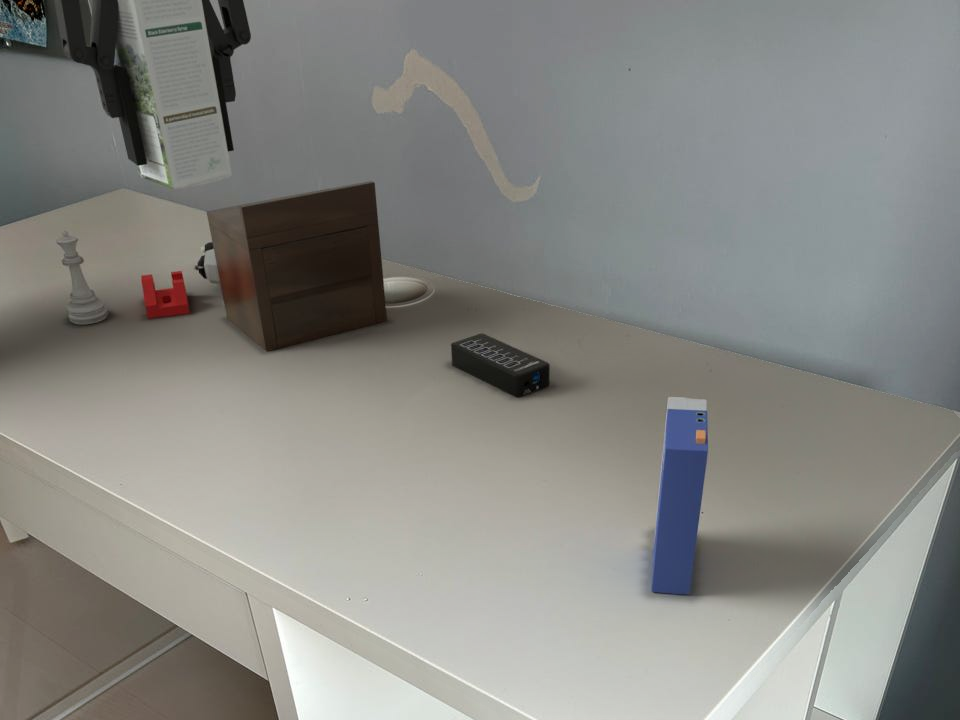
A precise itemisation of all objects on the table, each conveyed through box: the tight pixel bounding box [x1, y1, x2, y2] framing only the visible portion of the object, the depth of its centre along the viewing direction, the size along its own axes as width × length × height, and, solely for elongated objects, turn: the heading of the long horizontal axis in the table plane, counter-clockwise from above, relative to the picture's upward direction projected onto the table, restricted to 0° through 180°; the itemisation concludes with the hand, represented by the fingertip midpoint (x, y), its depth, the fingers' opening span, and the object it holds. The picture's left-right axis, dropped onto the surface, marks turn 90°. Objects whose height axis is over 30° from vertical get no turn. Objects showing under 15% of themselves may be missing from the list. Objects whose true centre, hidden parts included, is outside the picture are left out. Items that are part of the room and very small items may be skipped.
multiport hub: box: [450, 333, 551, 398], centre depth 100 cm, size 4×11×2 cm, turn 39°
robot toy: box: [192, 241, 221, 287], centre depth 125 cm, size 12×4×15 cm
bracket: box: [140, 270, 190, 319], centre depth 118 cm, size 6×5×3 cm
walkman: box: [651, 396, 709, 595], centre depth 70 cm, size 8×3×12 cm, turn 170°
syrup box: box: [114, 0, 233, 190], centre depth 76 cm, size 6×6×14 cm
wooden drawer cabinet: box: [206, 180, 388, 352], centre depth 110 cm, size 12×15×15 cm
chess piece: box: [55, 230, 109, 326], centre depth 114 cm, size 4×4×10 cm
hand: (181, 154), depth 79 cm, fingers closed on syrup box, 6 cm apart
